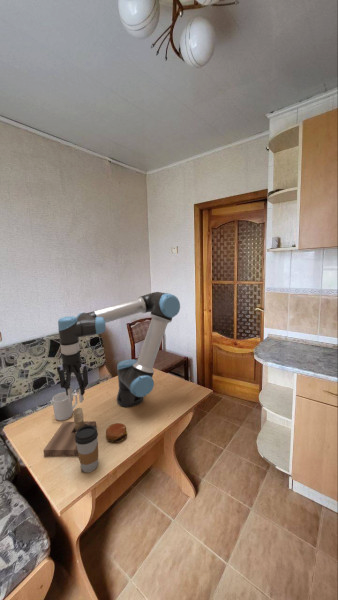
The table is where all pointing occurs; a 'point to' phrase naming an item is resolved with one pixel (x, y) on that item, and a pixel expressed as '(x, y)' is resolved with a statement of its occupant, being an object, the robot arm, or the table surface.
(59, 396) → the mug
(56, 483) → the table surface
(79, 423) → the peg
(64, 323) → the robot arm
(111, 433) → the burger
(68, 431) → the board
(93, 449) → the coffee cup
